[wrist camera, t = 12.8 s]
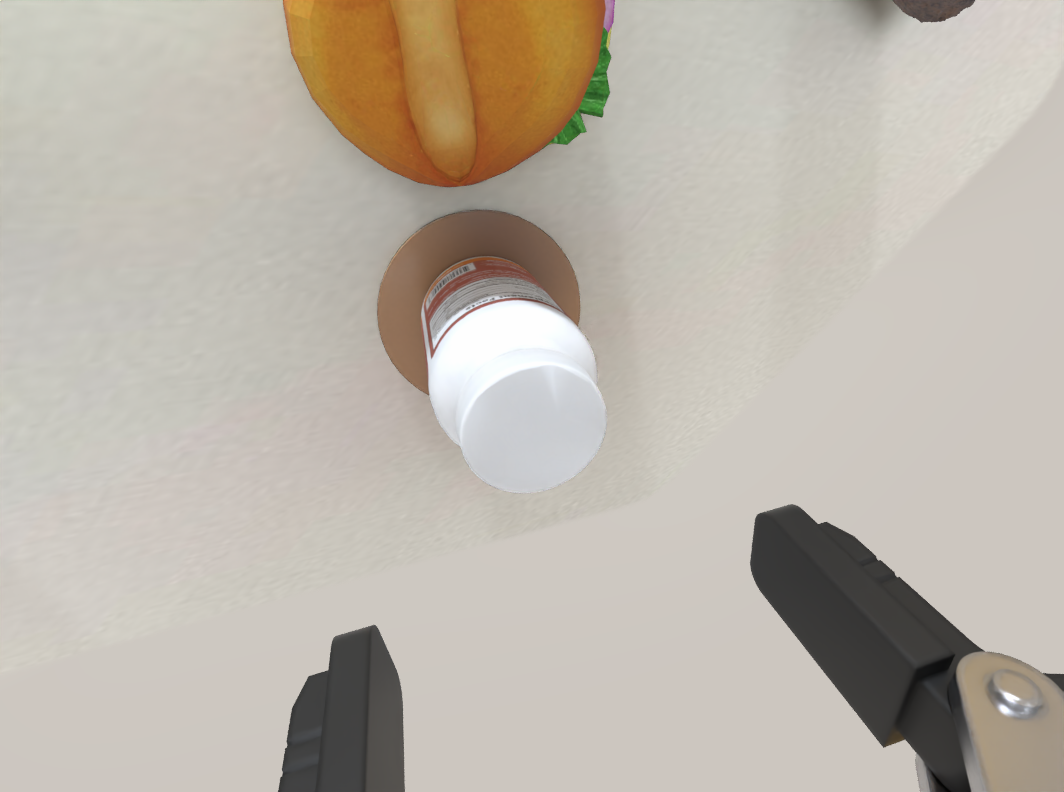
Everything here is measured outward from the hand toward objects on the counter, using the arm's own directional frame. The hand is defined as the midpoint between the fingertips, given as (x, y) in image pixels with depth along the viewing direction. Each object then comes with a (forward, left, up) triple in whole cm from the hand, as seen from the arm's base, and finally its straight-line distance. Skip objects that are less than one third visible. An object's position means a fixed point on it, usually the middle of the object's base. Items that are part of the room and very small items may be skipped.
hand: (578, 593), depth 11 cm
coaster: (+1, 0, -17) cm, 17 cm away
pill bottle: (+1, 0, -17) cm, 17 cm away
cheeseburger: (+2, +12, -18) cm, 21 cm away
